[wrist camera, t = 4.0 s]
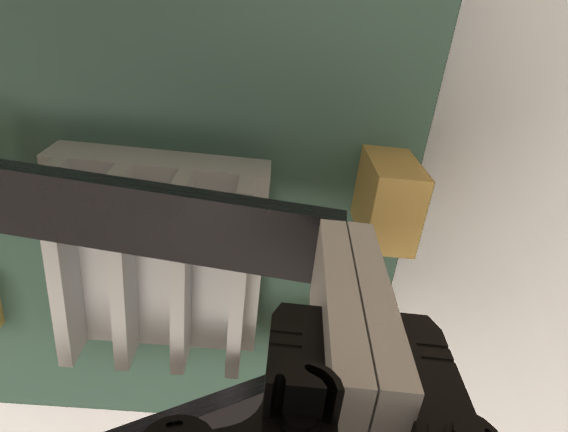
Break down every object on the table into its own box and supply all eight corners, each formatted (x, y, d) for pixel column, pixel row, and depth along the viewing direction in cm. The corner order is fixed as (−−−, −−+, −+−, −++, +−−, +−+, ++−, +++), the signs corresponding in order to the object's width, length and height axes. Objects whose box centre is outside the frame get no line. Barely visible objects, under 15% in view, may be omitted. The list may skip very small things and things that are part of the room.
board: (-127, -69, 17) (-270, -88, 13) (451, -2, 18) (506, 3, 14) (-15, 384, 27) (-73, 462, 23) (353, 409, 29) (366, 488, 24)
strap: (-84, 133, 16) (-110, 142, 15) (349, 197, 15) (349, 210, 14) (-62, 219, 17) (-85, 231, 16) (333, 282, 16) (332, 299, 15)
